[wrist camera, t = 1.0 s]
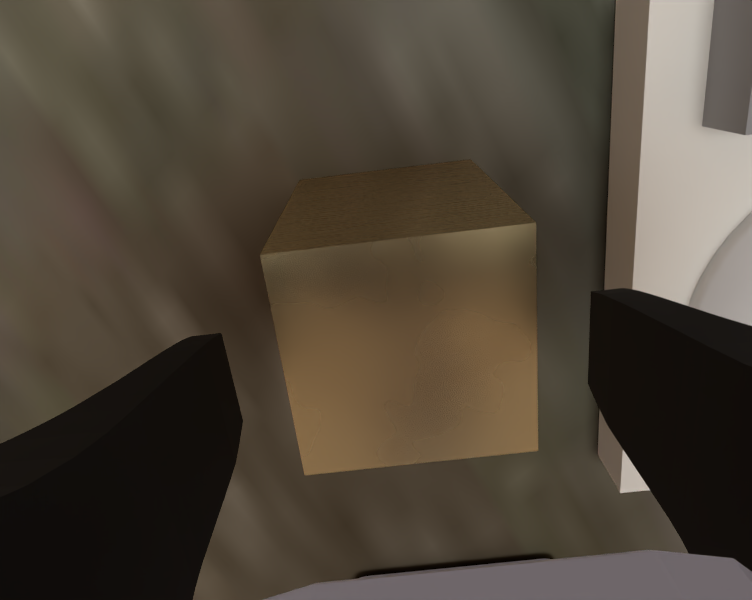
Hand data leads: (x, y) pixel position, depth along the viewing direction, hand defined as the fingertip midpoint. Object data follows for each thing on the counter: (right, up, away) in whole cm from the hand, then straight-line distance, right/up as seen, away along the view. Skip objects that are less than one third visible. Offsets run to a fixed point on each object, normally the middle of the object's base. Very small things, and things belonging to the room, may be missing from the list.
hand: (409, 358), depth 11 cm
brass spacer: (0, +3, +7) cm, 7 cm away
